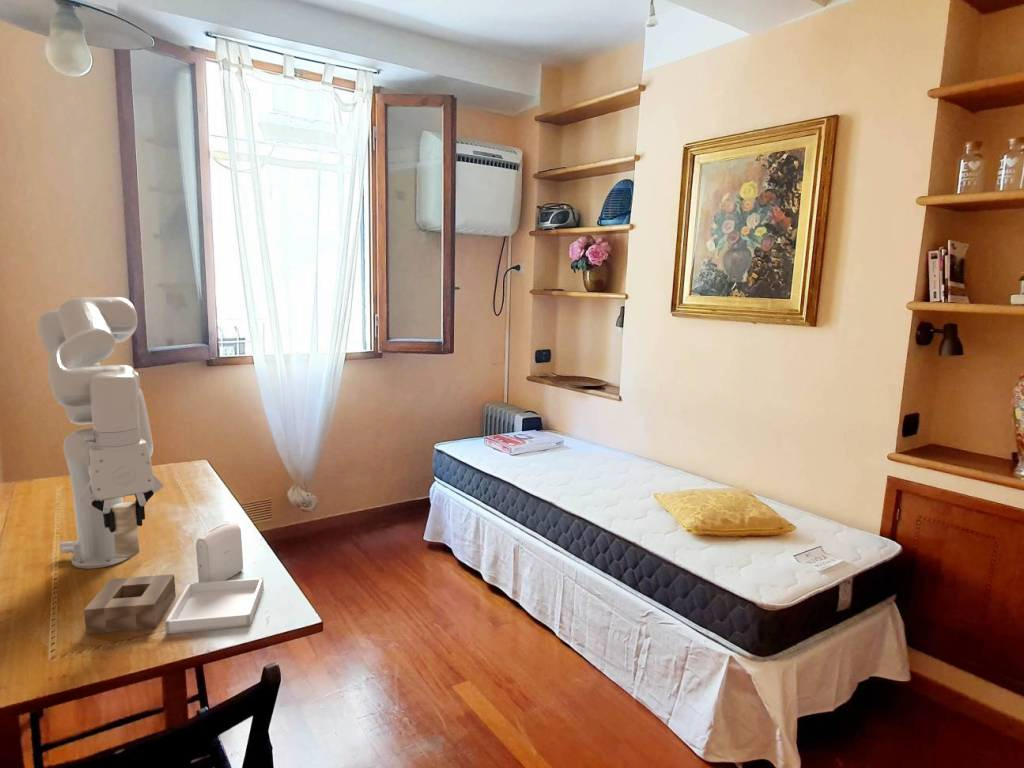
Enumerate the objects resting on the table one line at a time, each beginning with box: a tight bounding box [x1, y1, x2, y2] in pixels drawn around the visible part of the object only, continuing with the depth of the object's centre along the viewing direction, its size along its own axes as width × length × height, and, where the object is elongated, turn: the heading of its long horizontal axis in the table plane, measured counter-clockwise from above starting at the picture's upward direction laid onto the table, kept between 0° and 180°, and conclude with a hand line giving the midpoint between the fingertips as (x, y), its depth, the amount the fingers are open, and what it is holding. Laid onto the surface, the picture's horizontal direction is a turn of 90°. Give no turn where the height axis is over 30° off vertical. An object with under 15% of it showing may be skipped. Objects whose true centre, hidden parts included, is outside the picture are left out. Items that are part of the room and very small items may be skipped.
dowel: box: [112, 501, 140, 559], centre depth 120 cm, size 4×4×10 cm
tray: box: [164, 577, 265, 635], centre depth 125 cm, size 15×15×2 cm
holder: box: [83, 574, 177, 635], centre depth 123 cm, size 12×12×5 cm
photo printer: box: [195, 522, 244, 583], centre depth 137 cm, size 10×4×12 cm, turn 158°
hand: (125, 525), depth 120 cm, fingers closed on dowel, 4 cm apart
